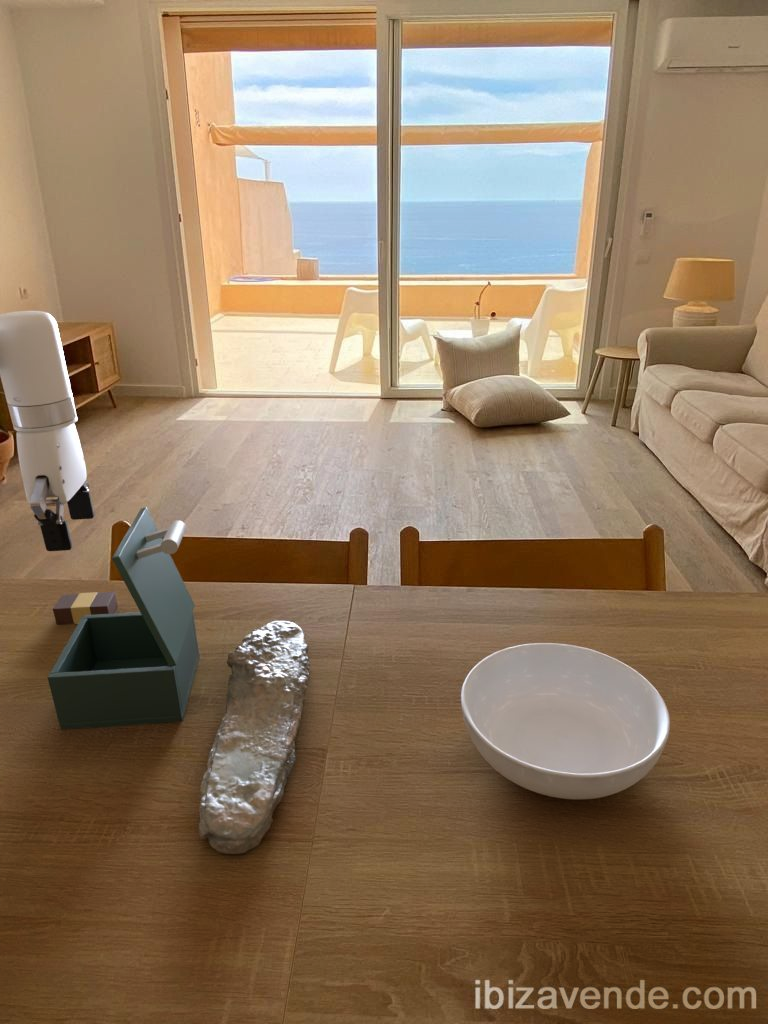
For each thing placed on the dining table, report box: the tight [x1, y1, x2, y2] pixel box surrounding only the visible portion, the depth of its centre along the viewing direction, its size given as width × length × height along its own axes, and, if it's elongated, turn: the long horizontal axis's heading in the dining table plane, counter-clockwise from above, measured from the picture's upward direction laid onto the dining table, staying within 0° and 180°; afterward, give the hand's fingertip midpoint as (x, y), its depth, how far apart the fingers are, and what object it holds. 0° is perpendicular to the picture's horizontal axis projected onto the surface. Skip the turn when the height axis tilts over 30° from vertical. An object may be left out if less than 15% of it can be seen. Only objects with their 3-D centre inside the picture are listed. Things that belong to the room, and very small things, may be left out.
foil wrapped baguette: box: [198, 620, 311, 855], centre depth 78 cm, size 35×5×10 cm
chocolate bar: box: [52, 591, 119, 625], centre depth 100 cm, size 8×4×3 cm, turn 95°
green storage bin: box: [47, 611, 200, 730], centre depth 83 cm, size 14×13×7 cm
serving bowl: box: [460, 642, 671, 800], centre depth 73 cm, size 21×21×7 cm
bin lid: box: [111, 506, 196, 667], centre depth 79 cm, size 14×13×5 cm
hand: (72, 533), depth 95 cm, fingers open, 9 cm apart
